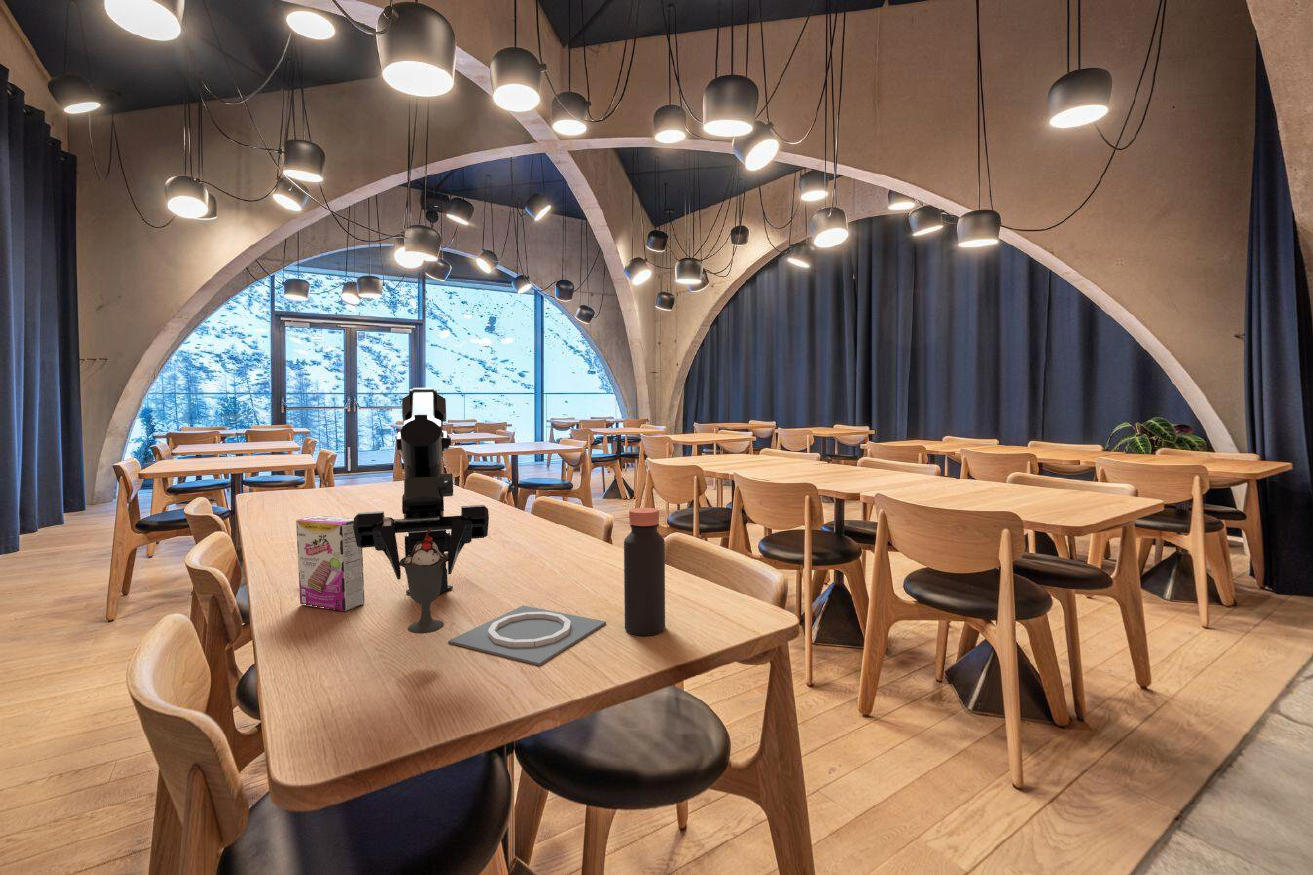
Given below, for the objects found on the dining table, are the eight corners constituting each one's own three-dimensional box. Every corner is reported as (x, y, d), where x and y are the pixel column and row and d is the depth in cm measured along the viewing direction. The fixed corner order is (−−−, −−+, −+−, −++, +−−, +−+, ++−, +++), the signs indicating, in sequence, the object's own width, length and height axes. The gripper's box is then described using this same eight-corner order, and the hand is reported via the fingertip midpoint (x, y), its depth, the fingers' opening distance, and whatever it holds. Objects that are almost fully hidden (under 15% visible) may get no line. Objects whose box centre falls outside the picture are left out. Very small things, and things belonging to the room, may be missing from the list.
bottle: (635, 639, 95) (634, 515, 94) (618, 625, 101) (616, 508, 100) (672, 632, 98) (672, 511, 97) (653, 618, 104) (653, 505, 103)
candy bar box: (297, 606, 112) (294, 519, 111) (320, 598, 116) (317, 514, 115) (344, 613, 108) (340, 523, 107) (366, 604, 113) (362, 518, 112)
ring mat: (448, 643, 95) (448, 635, 94) (523, 607, 110) (523, 601, 110) (539, 665, 86) (539, 657, 86) (606, 623, 102) (606, 616, 102)
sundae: (435, 637, 84) (432, 532, 83) (391, 634, 85) (388, 530, 84) (459, 620, 90) (456, 522, 89) (418, 617, 91) (415, 520, 90)
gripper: (352, 458, 86) (344, 552, 77) (486, 453, 93) (494, 539, 83) (360, 502, 94) (354, 593, 85) (483, 495, 101) (490, 578, 91)
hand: (424, 575), depth 86 cm, fingers closed on sundae, 6 cm apart
